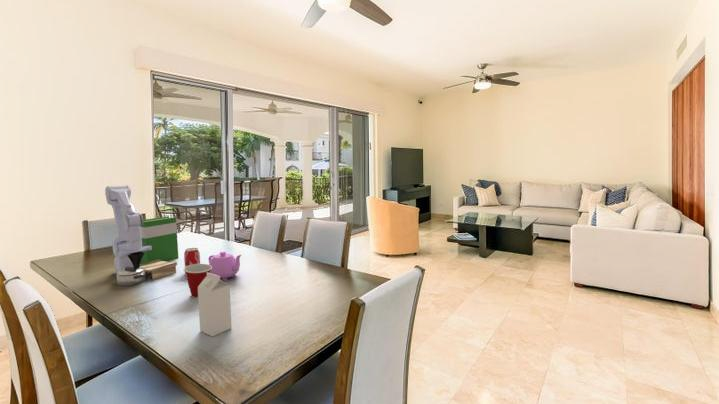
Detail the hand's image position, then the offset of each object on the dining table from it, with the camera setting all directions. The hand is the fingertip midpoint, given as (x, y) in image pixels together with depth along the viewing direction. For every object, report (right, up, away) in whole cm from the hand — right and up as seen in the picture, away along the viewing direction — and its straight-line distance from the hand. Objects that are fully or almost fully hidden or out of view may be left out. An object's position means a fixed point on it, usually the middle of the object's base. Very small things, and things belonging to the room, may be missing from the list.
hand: (136, 268), depth 165 cm
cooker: (-1, -6, -2) cm, 6 cm away
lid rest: (+4, -5, +9) cm, 11 cm away
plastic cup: (+38, -8, -18) cm, 43 cm away
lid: (-1, -1, -2) cm, 3 cm away
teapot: (+40, -6, +4) cm, 41 cm away
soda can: (+21, -5, +12) cm, 24 cm away
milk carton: (+57, -11, -49) cm, 76 cm away
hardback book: (-8, -2, +33) cm, 34 cm away
